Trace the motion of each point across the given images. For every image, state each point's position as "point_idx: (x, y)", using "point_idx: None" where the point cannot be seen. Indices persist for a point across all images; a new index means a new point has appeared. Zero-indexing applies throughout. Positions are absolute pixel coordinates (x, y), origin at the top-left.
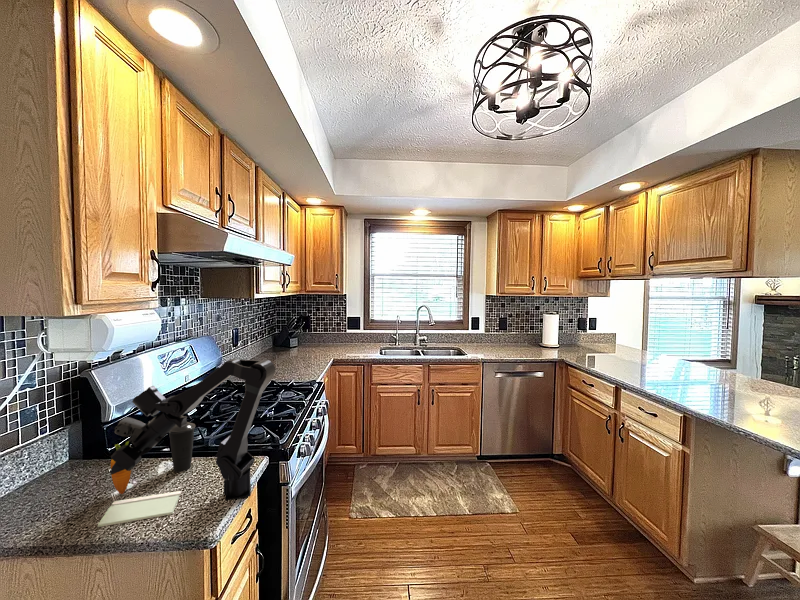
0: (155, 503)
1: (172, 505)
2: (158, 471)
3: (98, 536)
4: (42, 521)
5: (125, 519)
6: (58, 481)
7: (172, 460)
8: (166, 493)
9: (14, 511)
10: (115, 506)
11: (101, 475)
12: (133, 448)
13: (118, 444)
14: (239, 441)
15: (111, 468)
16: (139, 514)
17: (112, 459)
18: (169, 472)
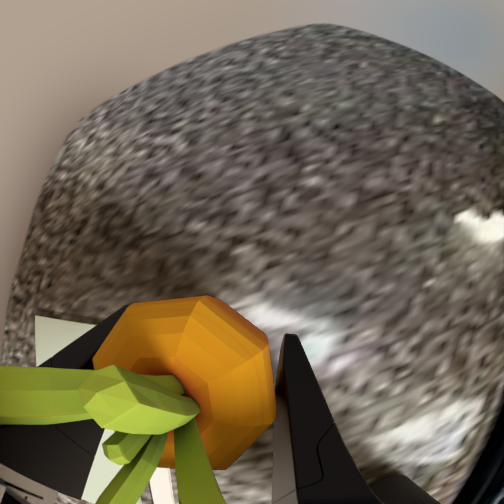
0: (103, 465)
1: (87, 496)
2: (403, 425)
3: (12, 327)
4: (134, 137)
5: None
6: (401, 85)
7: (397, 500)
8: (167, 495)
9: (235, 52)
10: None
11: (433, 195)
12: (291, 498)
13: (95, 420)
14: None
15: (98, 324)
16: None
17: (120, 320)
18: (372, 470)
